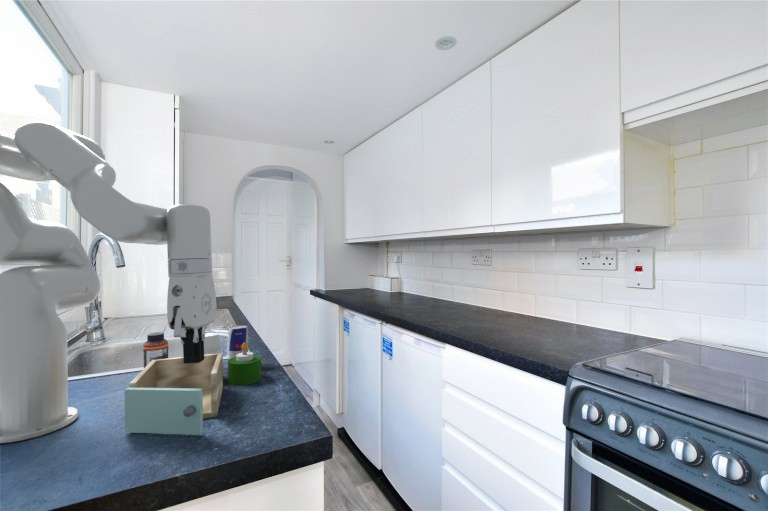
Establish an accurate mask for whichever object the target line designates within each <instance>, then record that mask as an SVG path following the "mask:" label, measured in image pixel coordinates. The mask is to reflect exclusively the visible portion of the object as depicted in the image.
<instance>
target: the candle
mask: <svg viewBox="0 0 768 511" xmlns="http://www.w3.org/2000/svg"><path fill="white" fill-rule="evenodd" d="M247 348H248V349H249V345H248V346H247V344H246V343H243V344H242V351H243V353H239V354H237V355H236V357H233V358H231V359H229V358H228V360H227V383H228V384H229V385H232V386H244V385H250V384H254V383H256V382H259V381H260V380H261V379H262V357H261V355H258V354H254V352H251V351H250V352H249V351H248V352H247Z"/></svg>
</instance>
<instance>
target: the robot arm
mask: <svg viewBox="0 0 768 511" xmlns="http://www.w3.org/2000/svg"><path fill="white" fill-rule="evenodd" d="M116 174H117V172H116V171H115V169H114V167H113V166H112V165H110V164H109V163H108V162H106V155H105V153H104V150H103V149H102V147H101V146H100V145H99V144H98V143H97V142H96V141H94V140H93V139H91V138H89V137H86V136H84V135H81V134H79V133H76V132H73V131H72V130H70V129H67V128H64V127H61V126H59V125H56V124H54V123H49V122H44V121H31V122H27V123H24V124H22V125H20V126H19V127H18V128H17V129H16V131H15V133H14V135H13V134H11V133H7V132H4V131H1V130H0V175H1V176H2V175H3V176H7V177H10V178H11V177H12V178H17V179H21V180H25V181H26V180H27V181H33V182H46V181H48V182H49V181H56V183H58V184H60V185H61V186H62V187H63V188H64V189H66V190H67V191H68V192H70V196H69V197H70V200H71V202H72V205H73V208H74V209H75V211H76V212H77V213H78V214H79V216H80V217H81V218H82V219H84V220H85V221H87V223H88V224H89V225H91V226H92V227H94V228H95V229H96V230H97V231H99V232H100V233H102V234H103V235H105V236H107V238H111V239H112V240H114V241H116V242H120V243H124V244H143V245H144V244H145V245H153V246H154V245H155V246H156V245H157V246H160V245H161V246H163V245H166V246H167V268H168V269H167V274H168V279H169V280H168V284H167V297H166V298H167V302H166V303H167V304H166V310H167V312H166V314H167V315H166V316H167V324H168V328H169V329H170V330H173V338H180V342H181V344H182V351H183V353H182V354H183V356H182V357H183V359H184V363H185V364H187V363H200V362H201V361H203V360H204V339H205V334H206V329H207V328H208V327H210V324H212V323H214V322H215V321H216V320H217V319H218V308H217V305H218V304H217V296H216V288H215V282H214V277H213V258H212V256H213V254H212V253H213V252H212V232H211V231H212V230H211V229H212V228H211V226H212V225H211V212H210V210H209V209H208V208H207V207H205V206H202V205H198V204H174V205H171V206H169V207H168V208H162V207H159V206H153V205H149V204H145V203H140V202H136V201H132V200H130V199H129V198H127V197H126V196H125V195H123V194H122V193H120V191H118V190H117V189H115V188H114V187H113V186H114V185H115V182H116V179H117V175H116ZM0 265H1V266H17V267H13V268H9V269H7V270H6V269H5V270H4V271H2V272H0V444H5V443H6V444H8V443H9V444H10V443H14V442H20V441H21V442H22V441H25V440H30V439H33V438H39V437H41V436H44V435H47V434H50V433H53V432H55V431H57V430H60V429H62V428H64V427H66V426H68V425H70V424H72V423H73V422H74V421H76V420H77V418H78V417H79V410H78V409H77V408H76V407H73V406H69V402H68V401H69V400H68V399H69V394H68V393H69V388H68V387H69V386H68V385H69V384H68V383H69V382H68V381H69V380H68V377H69V376H68V374H69V373H68V372H69V371H68V330H67V329H66V328H67V327H66V326H65V324H64V323H63V321H62V319H61V318H60V316H59V314H58V313H57V312H59V311H64V310H69V309H75V308H81V307H84V306H87V305H89V304H91V303H93V301H95V300H96V299H97V297H98V295H99V294H100V290H101V283H100V278H99V276H98V272H97V271H96V269H95V267H94V265H93V263H92V261H91V260H90V257H89V255H88V253H87V251H86V250H85V248H84V246H83V244H82V242H81V240H80V239H79V237H78V235H76V233H75V232H74V231H73V230H72V229H71V228H69V227H68V226H66V225H64V224H62V223H58V222H54V221H46V220H39V219H38V220H37V219H34V218H32V217H31V216H29V215H28V213H27V212H26V211H25V208H23V206H22V203H21V201H20V200H19V198H18V196H17V195H16V194H15V192H14V191H13V190H12V189H11V188H9V187H8V186H7V185H6V184H5V183H4V182H2V181H1V180H0Z"/></svg>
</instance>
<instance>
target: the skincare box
mask: <svg viewBox="0 0 768 511" xmlns="http://www.w3.org/2000/svg"><path fill="white" fill-rule="evenodd" d="M216 353H221V351H220V334H219V333H215V332H207V333H205V339H204V355H206V354H216Z"/></svg>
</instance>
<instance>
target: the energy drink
mask: <svg viewBox="0 0 768 511" xmlns="http://www.w3.org/2000/svg"><path fill="white" fill-rule="evenodd" d="M248 328H249V327H248V326H247V325H243V324H242V325H241V324H239V325H233V326H229V328H228V332H227V333H228V360H229V359H231V358H233V357H236V355H237V354H239V353H243V351H242V344H243V343H246V344H247V346H248V348H247V352H249V329H248Z"/></svg>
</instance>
